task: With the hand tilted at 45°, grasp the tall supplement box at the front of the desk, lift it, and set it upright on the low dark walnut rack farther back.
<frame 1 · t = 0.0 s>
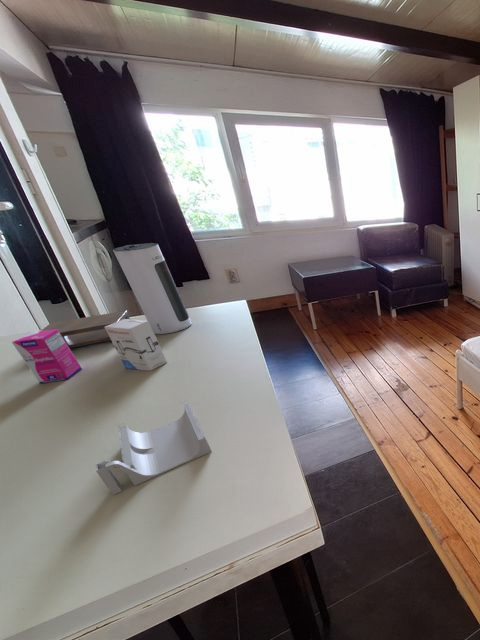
supplement box: (62, 377, 91), on the table
rack: (93, 341, 110), on the table
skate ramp: (160, 450, 65), on the table
speaker: (172, 328, 116), on the table
ink box: (147, 365, 94), on the table
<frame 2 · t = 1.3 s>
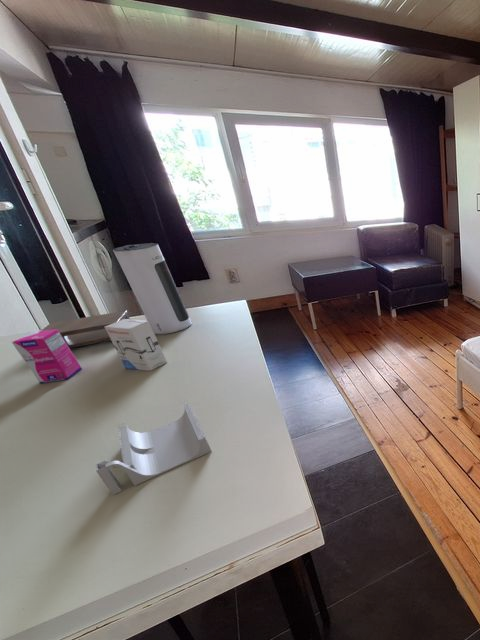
nothing on the table moved.
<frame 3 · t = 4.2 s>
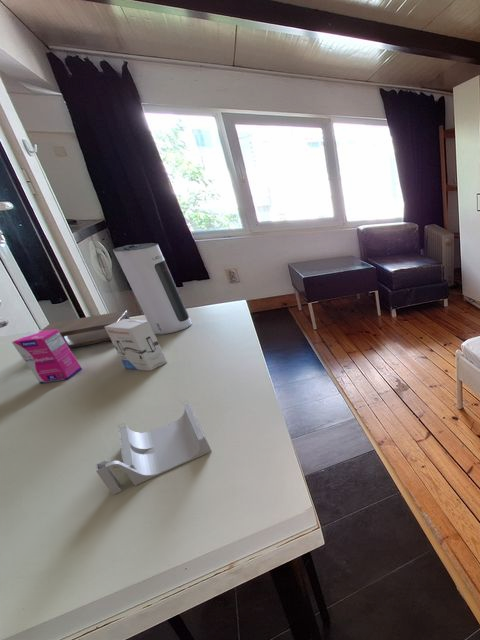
nothing on the table moved.
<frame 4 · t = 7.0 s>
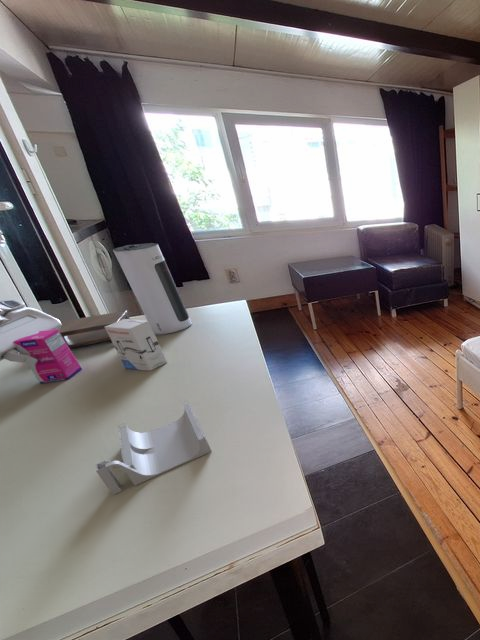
hand: (51, 354, 88), 6 cm above the table, tool tilted 45°, fingers closed on supplement box, 6 cm apart
supplement box: (62, 377, 91), on the table, touching gripper
everything else where it was.
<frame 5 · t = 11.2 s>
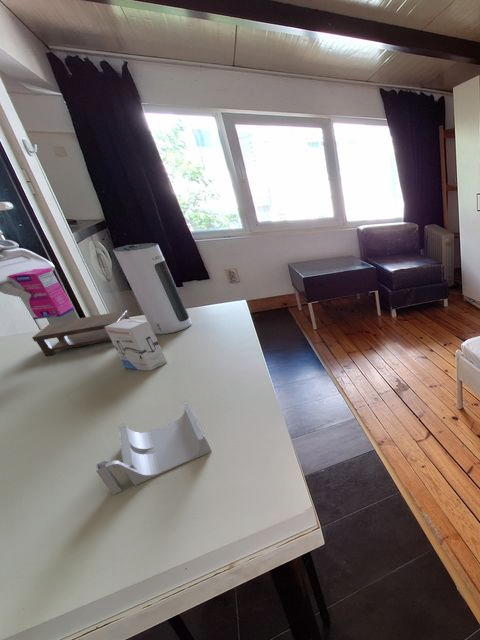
hand: (44, 292, 92), 18 cm above the table, tool tilted 45°, fingers closed on supplement box, 6 cm apart
supplement box: (55, 315, 95), point 12 cm above the table, touching gripper
everything else where it was.
when the fingers open (12 cm above the table, at t = 15.3 s): supplement box stays where it is, resting on rack.
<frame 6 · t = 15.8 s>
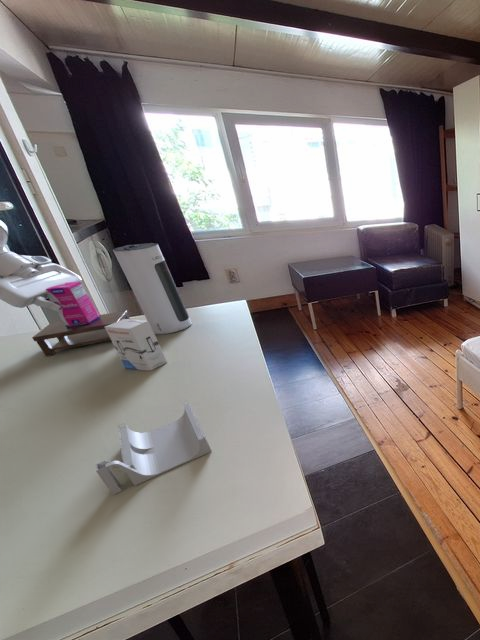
hand: (73, 302, 104), 12 cm above the table, tool tilted 45°, fingers open, 8 cm apart
supplement box: (84, 323, 107), point 6 cm above the table, touching rack
everything else where it was.
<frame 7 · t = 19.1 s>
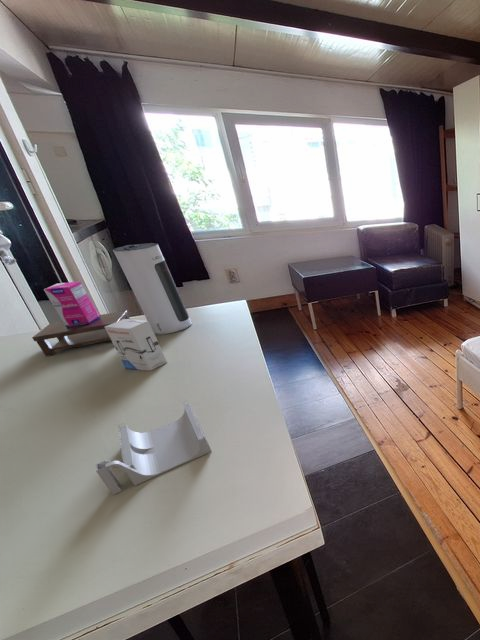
nothing on the table moved.
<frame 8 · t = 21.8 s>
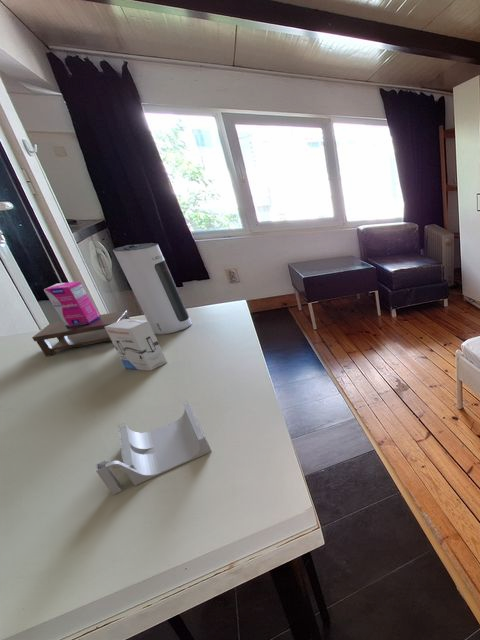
nothing on the table moved.
at the end: supplement box inside the target area on the rack (0.3 cm from its centre), point 5.8 cm above the rack's base; supplement box tilted 0°; the gripper is holding nothing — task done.
